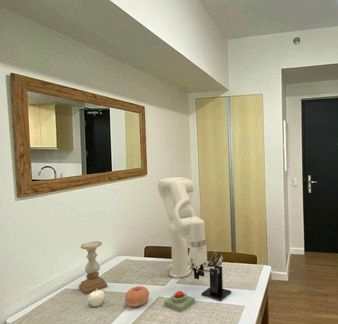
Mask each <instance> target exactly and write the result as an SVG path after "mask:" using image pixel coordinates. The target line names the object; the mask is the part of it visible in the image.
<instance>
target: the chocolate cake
mask: <svg viewBox="0 0 338 324" xmlns="http://www.w3.org/2000/svg"><path fill="white" fill-rule="evenodd" d="M223 259H224V258H223V255H222V254H219V253H217V252H216V250H214V251H213V253H212V254H211V257H210V259H209V261H208V262H207V267H209V266H213V267H214V266H215V265H217V266H219V265H222V264H221V263H222V262H223Z"/></svg>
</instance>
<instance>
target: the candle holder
mask: <svg viewBox="0 0 338 324" xmlns="http://www.w3.org/2000/svg"><path fill="white" fill-rule="evenodd" d="M102 245H103V242H102V241H98V240H96V241H89V242H88V241H87V242H85V243H82V244H81V245H80V248H81V249H82V250H86V251H87V255H86V256H85V257H86V259H87V260H88V262H87V263H86V265H85V267H84V273H86V275H85V277H86V279H84V280H82V281H81V282H80V283H79V285H78V289H79V290H80V291H81V292H82V293H83V294H84V295H89V294H91V293H92V292H93V291H96V289H97V288H98V289H97V290H102V289H105V288H107V287H108V283H107V282H106V281H105V280H104V279H103V277H101V276H100V273H99V270H100V268H101V265H100V263H98V261H97V260H96V259H97V256H98V254H97V252H96V250H98V248H100V247H101V246H102Z"/></svg>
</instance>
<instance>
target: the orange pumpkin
mask: <svg viewBox="0 0 338 324" xmlns="http://www.w3.org/2000/svg"><path fill="white" fill-rule="evenodd" d="M149 296H150V292H149V289H148V288H147V287H145V286H143V285H140V286H134V287H132V288H129V290H128V291H127V292H126V293H125V296H124V302H125V303H126V305H128V306H129V307H133V308H134V307H139V306H142V305H144V304H145V303H147V301H148V299H149Z"/></svg>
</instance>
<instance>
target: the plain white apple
mask: <svg viewBox="0 0 338 324" xmlns="http://www.w3.org/2000/svg"><path fill="white" fill-rule="evenodd" d="M97 289H98V288H97ZM97 289H96V291H93V292H91V293H89V294H88V297H87V299H88V302H89V304H90V305H91V307H99V306H101V305H102V303H103V302H104V300H105V296H106V295H105V292H104V291H103V290H102V289H100V290H97Z"/></svg>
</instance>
